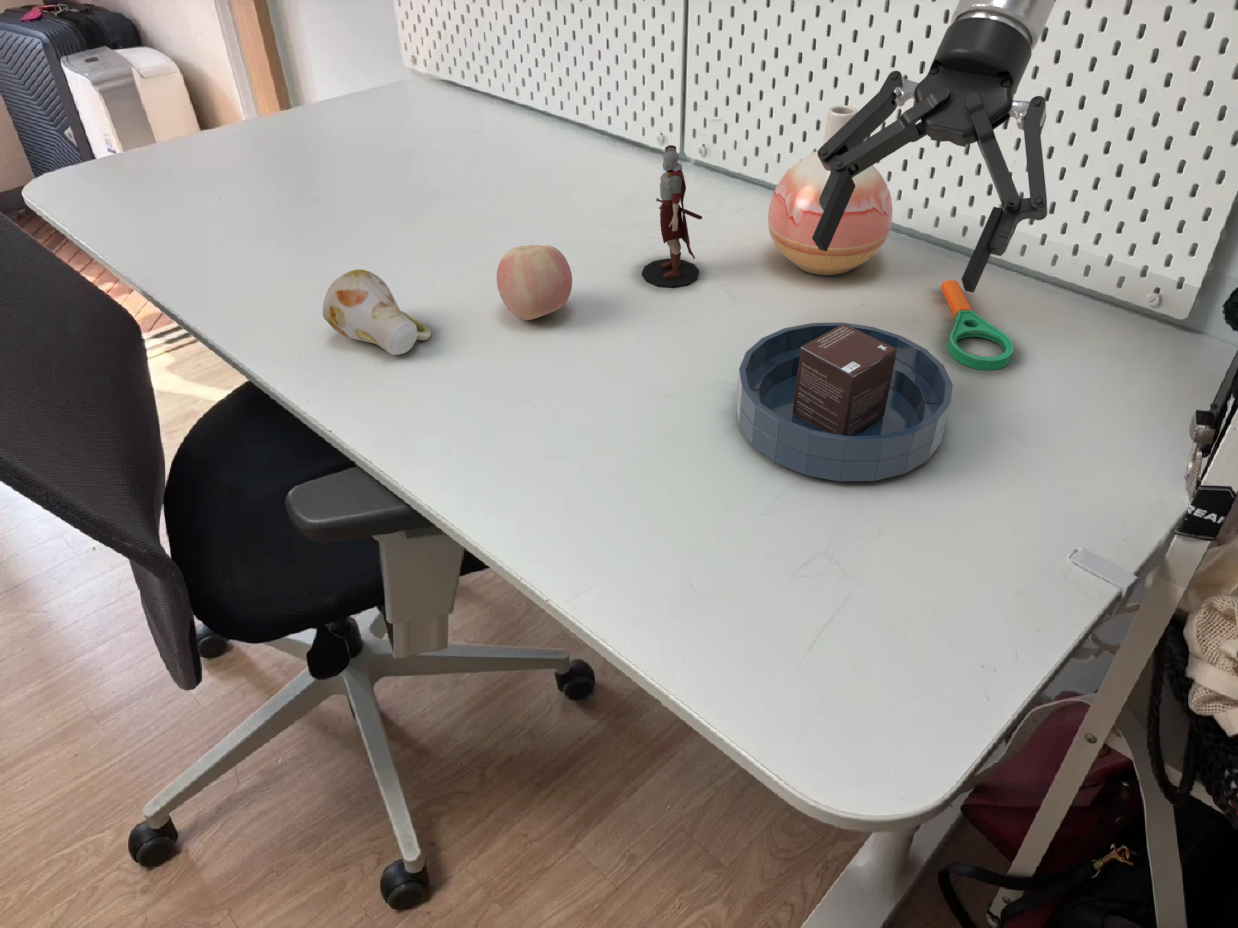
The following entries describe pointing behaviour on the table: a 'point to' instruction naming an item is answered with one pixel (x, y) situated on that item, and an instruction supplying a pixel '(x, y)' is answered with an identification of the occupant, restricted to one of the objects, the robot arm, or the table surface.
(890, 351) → the box
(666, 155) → the figurine
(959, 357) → the magnifying glass
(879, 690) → the table surface
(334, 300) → the mug
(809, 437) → the bowl
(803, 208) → the vase
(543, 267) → the apple
